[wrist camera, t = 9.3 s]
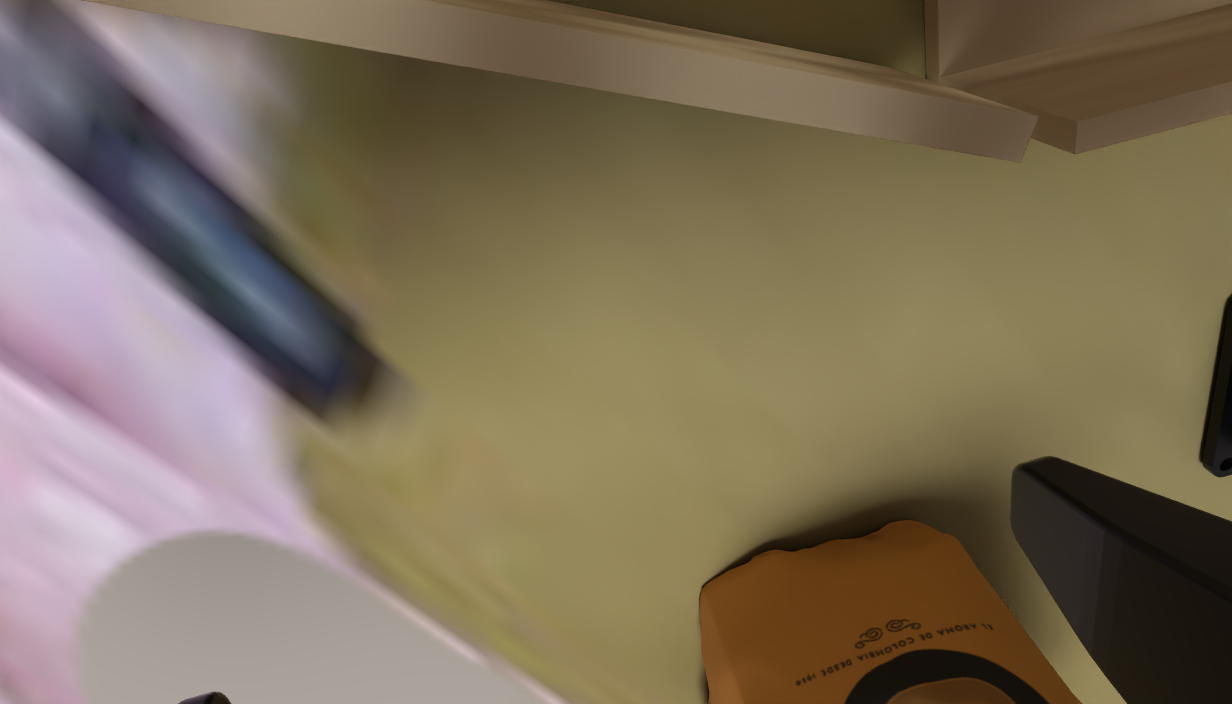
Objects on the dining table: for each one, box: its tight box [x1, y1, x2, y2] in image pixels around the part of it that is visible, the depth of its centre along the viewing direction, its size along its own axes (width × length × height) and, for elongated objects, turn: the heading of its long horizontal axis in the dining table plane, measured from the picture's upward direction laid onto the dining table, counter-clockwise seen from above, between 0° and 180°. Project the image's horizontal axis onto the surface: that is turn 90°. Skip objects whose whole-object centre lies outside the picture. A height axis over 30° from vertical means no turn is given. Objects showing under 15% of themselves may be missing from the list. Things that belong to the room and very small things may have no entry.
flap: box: [82, 0, 1039, 162], centre depth 15 cm, size 17×1×6 cm, turn 79°
